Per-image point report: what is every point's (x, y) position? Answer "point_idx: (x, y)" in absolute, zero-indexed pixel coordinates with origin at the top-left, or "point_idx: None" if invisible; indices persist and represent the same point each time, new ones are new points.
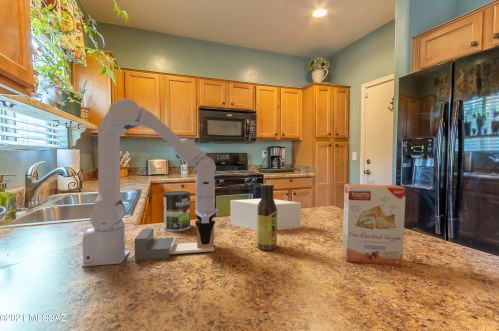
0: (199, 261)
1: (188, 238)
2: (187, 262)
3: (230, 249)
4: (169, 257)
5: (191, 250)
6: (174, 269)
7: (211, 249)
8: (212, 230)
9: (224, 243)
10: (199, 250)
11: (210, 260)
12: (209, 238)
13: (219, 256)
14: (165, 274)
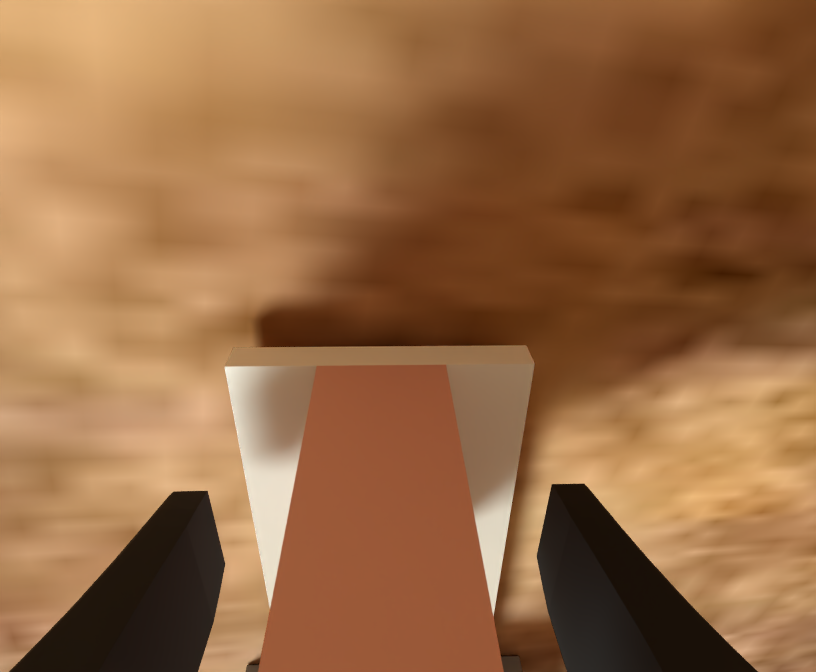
0: (694, 468)
1: (7, 588)
2: (663, 549)
3: (470, 70)
4: (509, 657)
5: (500, 572)
6: (742, 607)
7: (527, 388)
8: (485, 618)
9: (168, 155)
10: (506, 504)
11: (728, 374)
12: (640, 560)
13: (669, 271)
14: (787, 638)
